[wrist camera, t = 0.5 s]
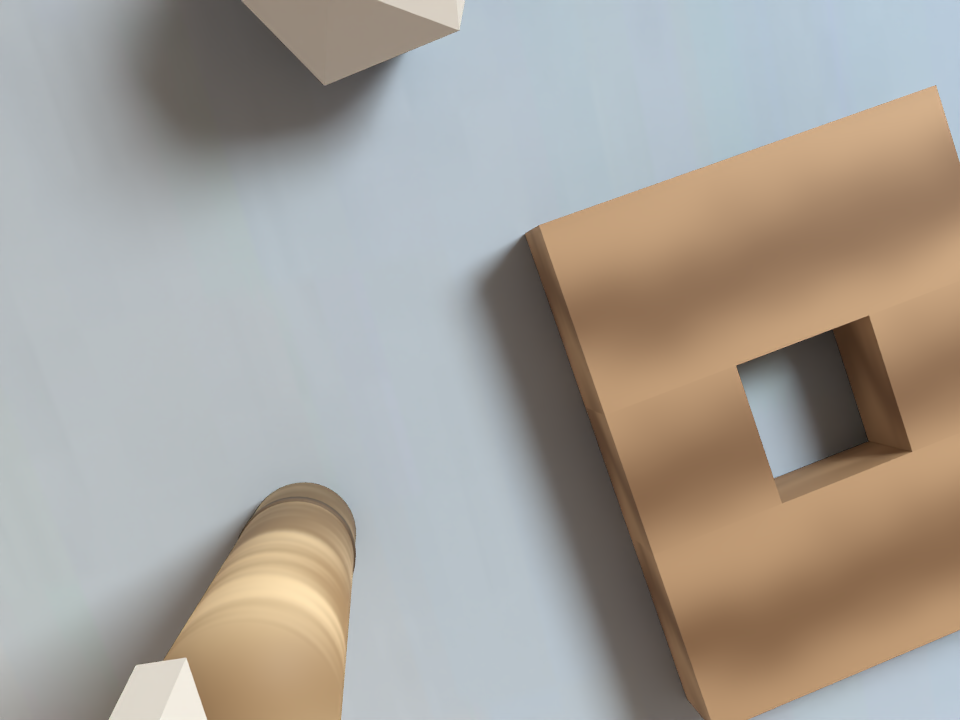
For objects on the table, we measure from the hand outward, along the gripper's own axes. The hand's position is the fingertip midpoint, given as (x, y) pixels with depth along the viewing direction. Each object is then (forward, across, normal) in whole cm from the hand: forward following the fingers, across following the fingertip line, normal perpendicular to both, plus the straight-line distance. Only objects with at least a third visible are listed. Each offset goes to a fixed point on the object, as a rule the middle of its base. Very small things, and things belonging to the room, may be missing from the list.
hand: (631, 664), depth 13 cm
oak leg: (+19, -10, -8) cm, 23 cm away
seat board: (+22, +10, -7) cm, 25 cm away
